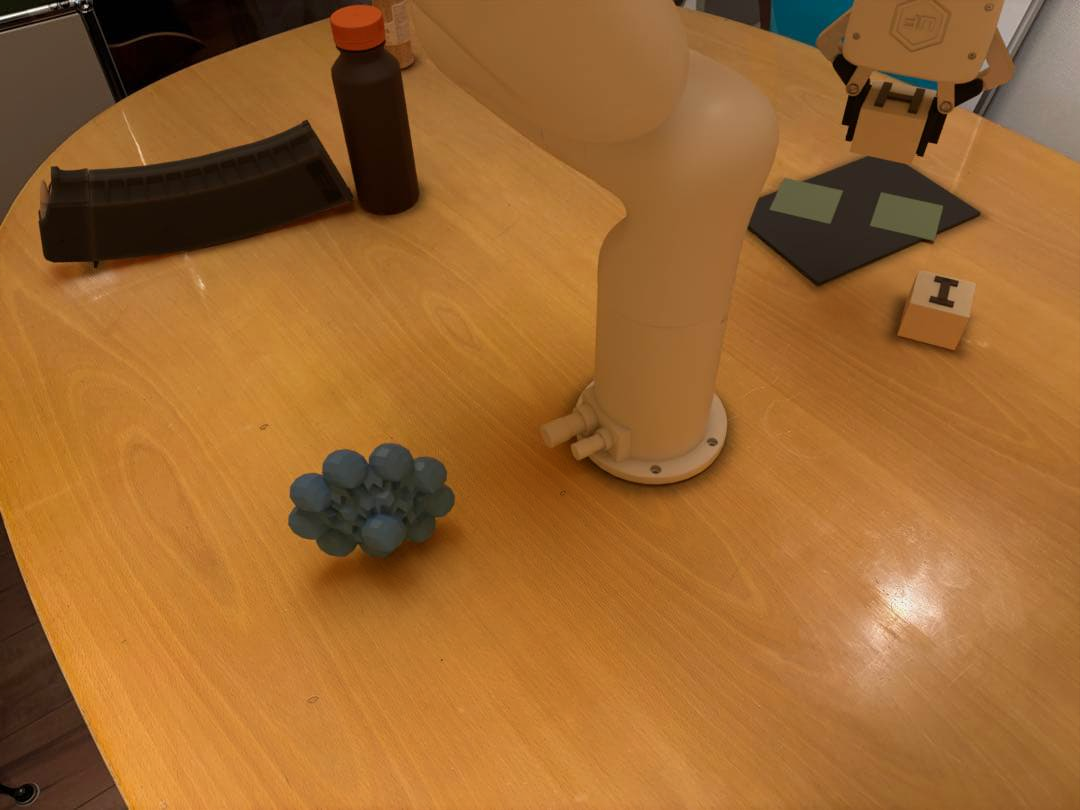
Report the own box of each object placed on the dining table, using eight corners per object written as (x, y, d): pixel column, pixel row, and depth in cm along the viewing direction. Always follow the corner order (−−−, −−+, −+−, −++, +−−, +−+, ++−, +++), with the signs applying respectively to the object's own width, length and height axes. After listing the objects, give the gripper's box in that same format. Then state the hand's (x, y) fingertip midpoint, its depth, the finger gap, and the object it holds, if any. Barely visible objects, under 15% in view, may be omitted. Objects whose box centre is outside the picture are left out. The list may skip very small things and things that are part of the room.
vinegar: (346, 195, 96) (306, 14, 81) (398, 172, 99) (368, -7, 84) (379, 223, 93) (342, 39, 78) (431, 199, 95) (406, 17, 81)
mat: (824, 291, 84) (825, 288, 83) (720, 205, 93) (720, 201, 93) (987, 220, 91) (988, 216, 90) (874, 146, 100) (875, 143, 100)
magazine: (357, 116, 90) (21, 95, 77) (364, 132, 88) (21, 113, 75) (340, 254, 101) (45, 256, 88) (347, 271, 99) (45, 275, 86)
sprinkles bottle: (373, 64, 116) (355, -42, 106) (399, 51, 119) (383, -53, 109) (396, 74, 114) (380, -32, 104) (422, 61, 117) (408, -44, 106)
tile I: (954, 350, 78) (970, 315, 75) (896, 335, 79) (910, 299, 76) (961, 316, 81) (977, 280, 78) (906, 302, 82) (919, 266, 79)
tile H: (911, 165, 71) (927, 117, 68) (849, 152, 72) (861, 104, 69) (922, 134, 74) (938, 87, 70) (862, 122, 75) (875, 75, 72)
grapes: (322, 625, 61) (280, 530, 52) (302, 549, 66) (260, 449, 57) (478, 568, 64) (463, 469, 55) (449, 499, 68) (431, 397, 59)
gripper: (817, -93, 60) (774, 141, 73) (1090, -58, 54) (988, 188, 68) (843, -130, 64) (798, 98, 78) (1098, -101, 59) (1001, 139, 72)
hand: (887, 138), depth 73 cm, fingers closed on tile H, 5 cm apart
